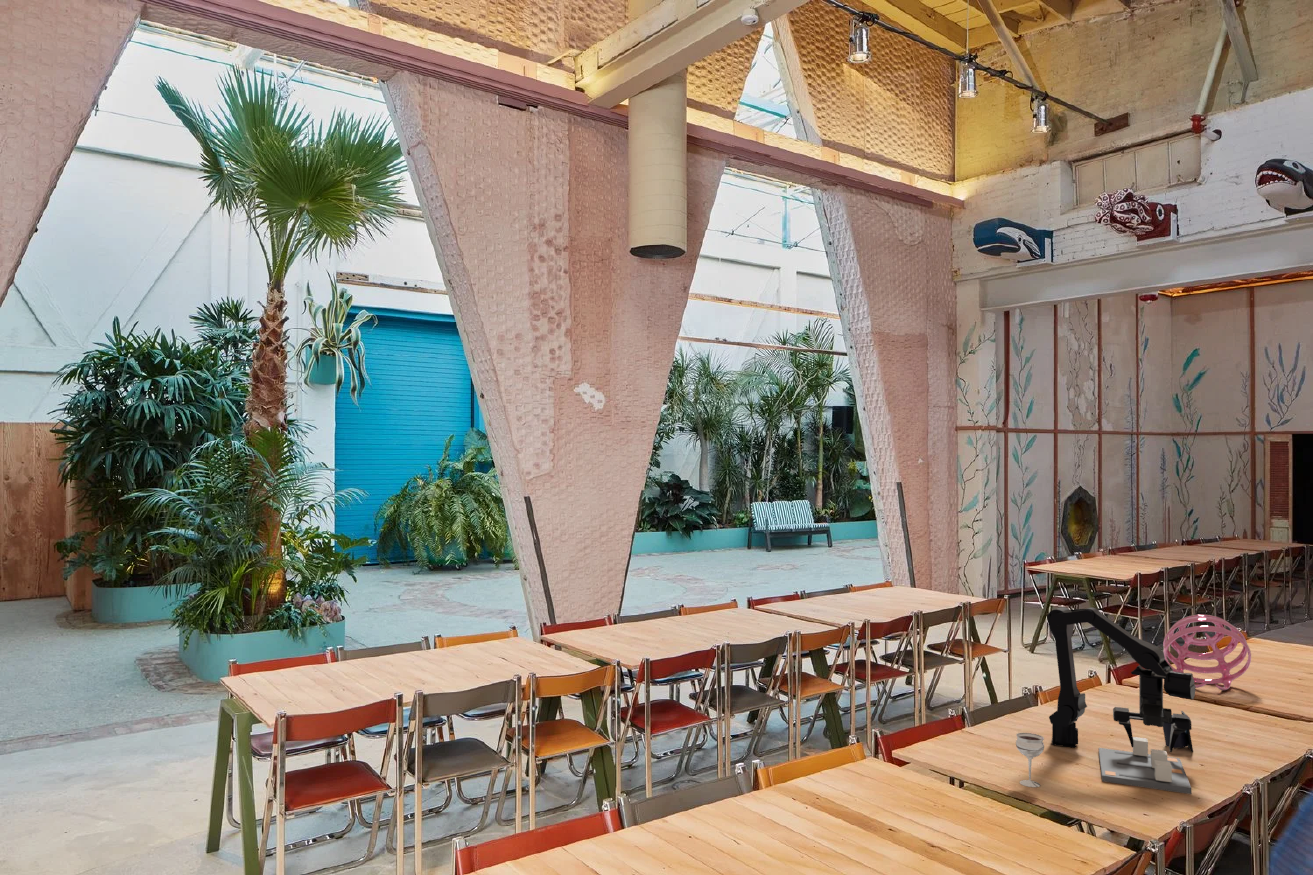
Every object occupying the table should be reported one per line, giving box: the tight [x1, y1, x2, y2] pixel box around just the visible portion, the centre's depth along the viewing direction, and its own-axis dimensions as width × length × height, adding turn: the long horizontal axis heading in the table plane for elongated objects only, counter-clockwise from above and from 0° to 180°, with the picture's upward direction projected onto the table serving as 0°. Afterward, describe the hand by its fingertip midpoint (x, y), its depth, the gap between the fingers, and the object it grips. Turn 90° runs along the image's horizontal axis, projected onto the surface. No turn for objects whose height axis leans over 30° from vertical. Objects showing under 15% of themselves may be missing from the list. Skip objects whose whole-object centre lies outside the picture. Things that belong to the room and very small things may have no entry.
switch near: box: [1155, 760, 1172, 782], centre depth 227 cm, size 4×4×4 cm
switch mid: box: [1150, 748, 1168, 768], centre depth 236 cm, size 4×4×4 cm
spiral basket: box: [1162, 614, 1252, 692], centre depth 331 cm, size 28×28×27 cm
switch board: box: [1098, 747, 1193, 795], centre depth 237 cm, size 20×25×2 cm
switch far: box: [1132, 736, 1149, 757], centre depth 246 cm, size 4×4×4 cm
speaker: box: [1162, 710, 1194, 753], centre depth 259 cm, size 8×6×10 cm
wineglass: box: [1015, 732, 1045, 788], centre depth 228 cm, size 7×7×12 cm
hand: (1151, 749), depth 245 cm, fingers open, 9 cm apart
